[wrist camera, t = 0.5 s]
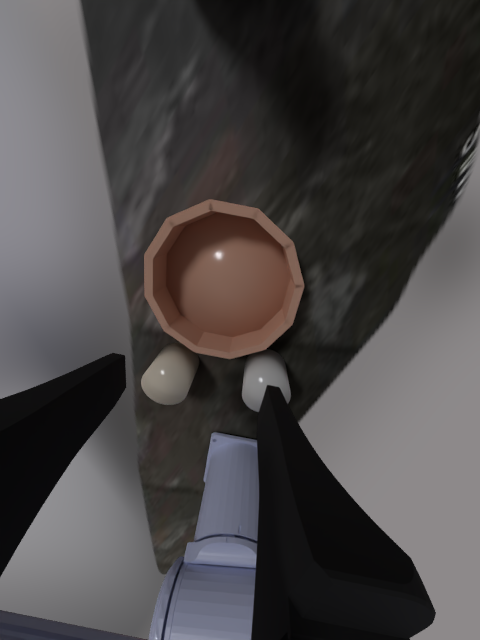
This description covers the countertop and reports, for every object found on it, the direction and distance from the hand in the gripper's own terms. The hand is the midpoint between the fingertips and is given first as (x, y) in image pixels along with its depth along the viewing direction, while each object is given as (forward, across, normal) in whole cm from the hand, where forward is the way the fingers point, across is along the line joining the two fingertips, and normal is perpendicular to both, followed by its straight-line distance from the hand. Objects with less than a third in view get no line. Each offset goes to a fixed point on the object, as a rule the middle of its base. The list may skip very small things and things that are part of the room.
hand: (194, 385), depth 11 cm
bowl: (+10, 0, -3) cm, 10 cm away
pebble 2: (+10, -5, +5) cm, 12 cm away
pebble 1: (+10, +4, +6) cm, 12 cm away
